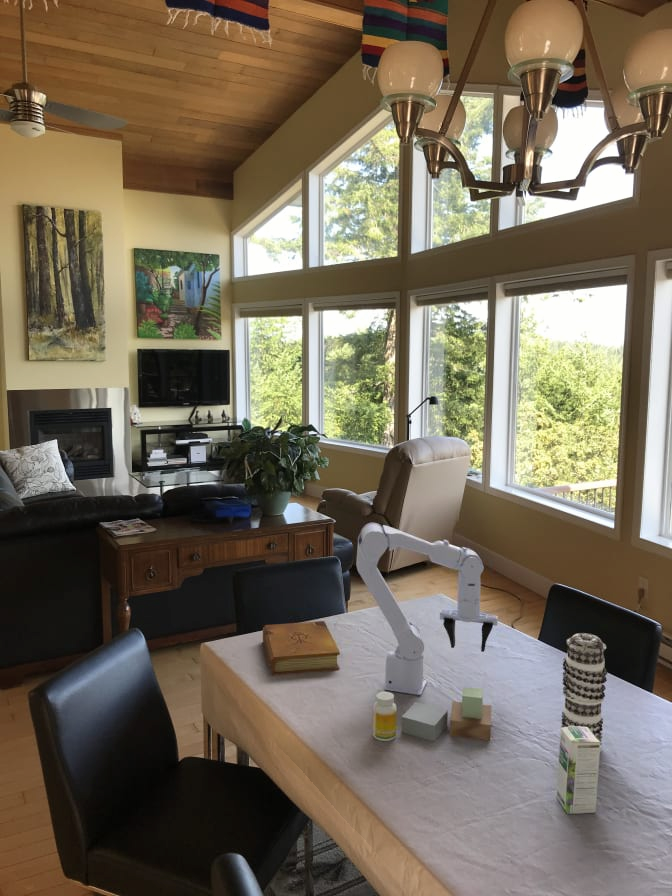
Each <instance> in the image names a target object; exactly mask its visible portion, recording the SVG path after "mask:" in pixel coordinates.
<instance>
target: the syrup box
mask: <svg viewBox="0 0 672 896" xmlns="http://www.w3.org/2000/svg"><path fill="white" fill-rule="evenodd" d="M559 735H560V736H559V737H560V738H559V751H558V762H557V763H558V765H557V766H558V767H557V782H556V799H558V801H559V802H560V804H561V806H562V808H563V810H564V811H565V812H566V813H567V815H575V814H592V813H593V814H594V813H596V811H597V799H598V784H599V769H600V768H599V767H600V754H601V752H600V746H601V745H600V741H599V740H598V739H597V738H596V736H595V735H594V734H593V733H592V731H591V730H590V729H589V728H588V727H581V726H570V727H562V728H561V727H560V734H559Z"/></svg>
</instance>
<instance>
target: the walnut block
mask: <svg viewBox="0 0 672 896" xmlns="http://www.w3.org/2000/svg"><path fill="white" fill-rule="evenodd" d="M491 727H492V705H488V704H482V719H478V718H470V717H462V701H455V700H452V702H451V710H450V718H449V736H450V737H451V736H452V737H461V738H468V739H475V740H483V741H485V740H486V741H491V736H492V734H491V733H492V732H491V731H492V728H491Z"/></svg>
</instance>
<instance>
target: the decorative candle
mask: <svg viewBox="0 0 672 896" xmlns="http://www.w3.org/2000/svg"><path fill="white" fill-rule="evenodd" d="M566 644H567V653H566V657H565V658H563V662H562V670H563V672H562V675H563V676H562V677H563V678H562V685H563V688H562V690H563V691H562V693H563V696H564V704H563V711H562V712H561V727H560V729H561V728H562V727H570V726H581V727H588V728H589V729H590V730H591V731H592V733H593V734H594V735H595V736H596V738H597V739H598V740H599V741H600V753H601V751H602V747H601V746H602V744H603V743H602V739H603V736H602V735H603V733H602V731H603V723H604V718H603V717H602V713H603V711H602V703H603V702H604V701H605V700H604V699H605V697H606V695H605V692H604V691H605V690H606V686H605V683H606V682H607V681H608V679H607V677H606V676H607V675H608V671H607V669H606V668H605V660H606V659H605V650H606V649H607V645H606V644H605V643H604V642H603V641H602V639H601V638H600V637H599V636H597V635H596V634H595V635H594V634H592V633H585V632H579V633H575V634H573V635H572V636H571V637H569V638H567V639H566Z"/></svg>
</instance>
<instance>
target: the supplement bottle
mask: <svg viewBox="0 0 672 896" xmlns="http://www.w3.org/2000/svg"><path fill="white" fill-rule="evenodd" d="M397 710H398V708H397V705H396V703H395V695H394V694H393V693H392V692H389V691H379V692H378V693H376V695H375V702H374V704H373V705H372V731H371V732H372V736H373V738H374V739H375V740H377V741H381V742H390V741H392V740H394V739H395V738H396V736H397V718H398V717H397V713H398V712H397Z"/></svg>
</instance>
